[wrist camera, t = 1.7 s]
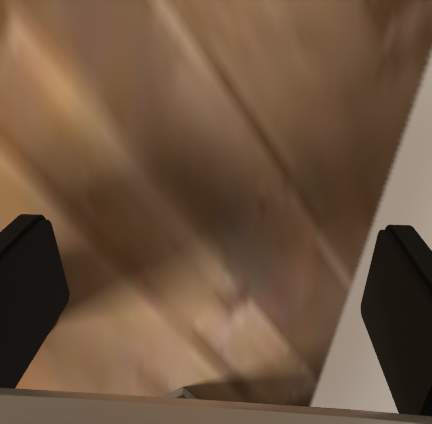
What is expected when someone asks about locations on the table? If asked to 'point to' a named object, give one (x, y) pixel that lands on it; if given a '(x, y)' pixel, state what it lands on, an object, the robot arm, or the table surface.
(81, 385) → the table surface
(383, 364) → the robot arm
